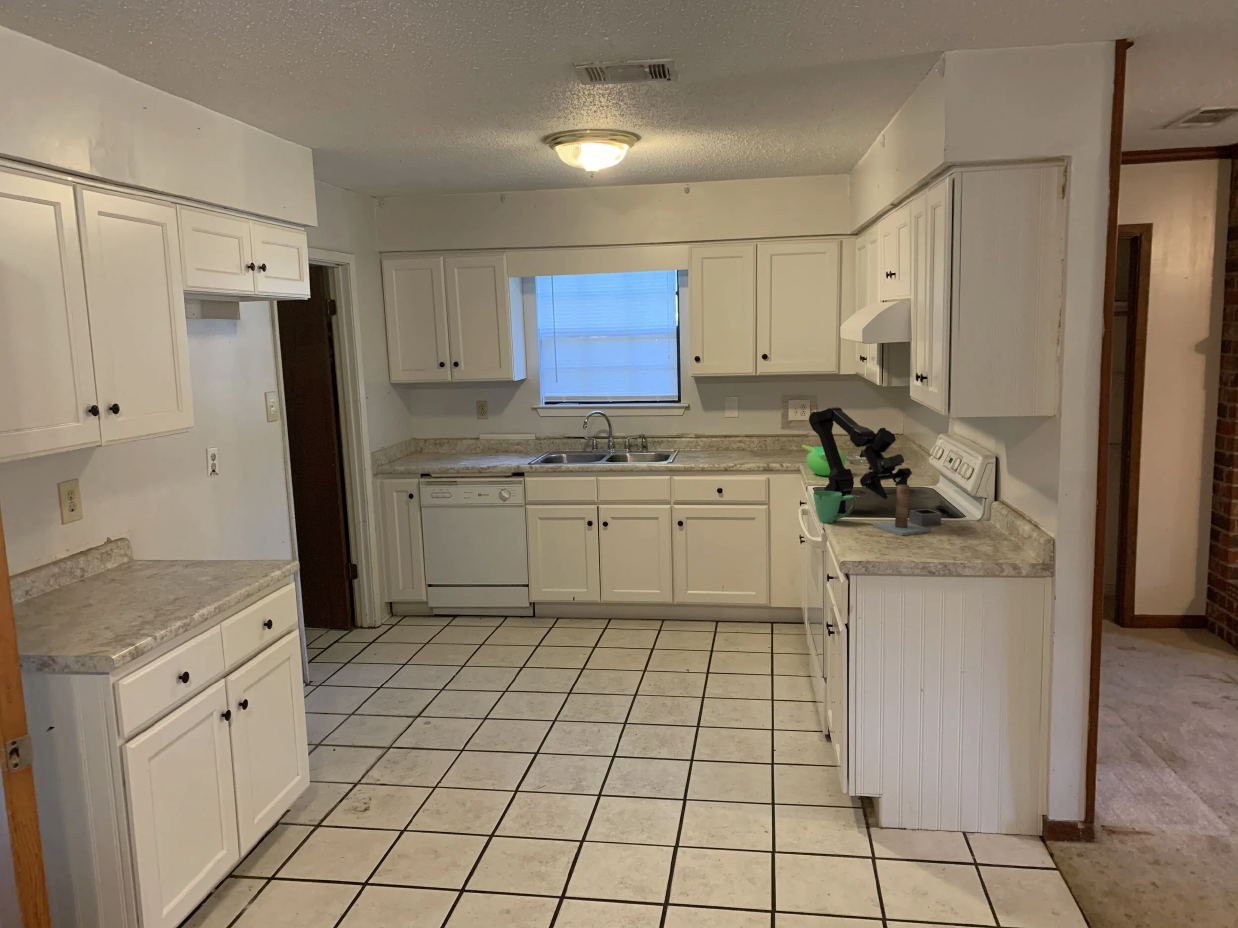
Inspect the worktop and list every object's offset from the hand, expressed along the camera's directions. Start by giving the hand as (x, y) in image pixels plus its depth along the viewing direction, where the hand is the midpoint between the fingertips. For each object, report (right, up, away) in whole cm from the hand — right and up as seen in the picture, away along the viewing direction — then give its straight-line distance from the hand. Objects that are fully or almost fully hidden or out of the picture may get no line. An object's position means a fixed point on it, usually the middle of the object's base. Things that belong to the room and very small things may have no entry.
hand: (897, 497), depth 298 cm
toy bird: (0, +6, +103) cm, 104 cm away
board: (+1, -11, -1) cm, 11 cm away
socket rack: (+12, -9, +8) cm, 17 cm away
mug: (-19, -9, +12) cm, 24 cm away
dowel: (+1, -10, -1) cm, 10 cm away
